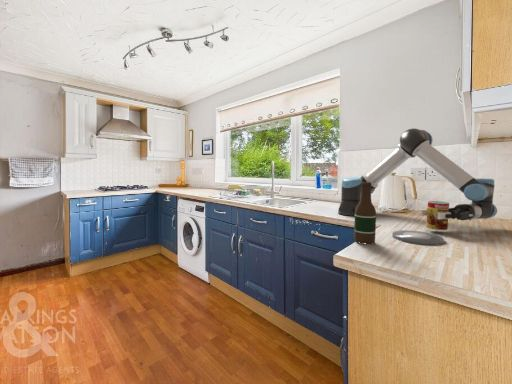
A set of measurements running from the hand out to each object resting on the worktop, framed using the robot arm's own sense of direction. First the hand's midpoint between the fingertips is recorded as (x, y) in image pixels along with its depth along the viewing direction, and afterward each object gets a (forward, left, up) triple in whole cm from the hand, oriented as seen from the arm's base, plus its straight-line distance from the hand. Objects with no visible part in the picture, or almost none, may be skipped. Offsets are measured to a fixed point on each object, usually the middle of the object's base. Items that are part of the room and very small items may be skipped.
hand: (429, 214), depth 112 cm
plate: (-2, -14, -9) cm, 16 cm away
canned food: (+2, +4, -7) cm, 8 cm away
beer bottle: (-16, -34, -9) cm, 38 cm away
